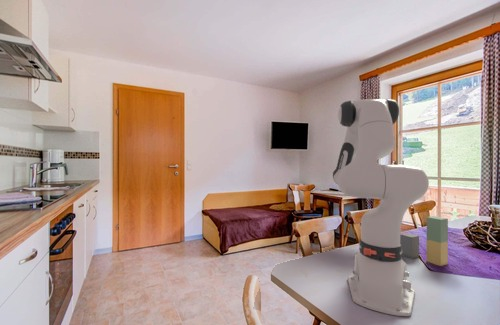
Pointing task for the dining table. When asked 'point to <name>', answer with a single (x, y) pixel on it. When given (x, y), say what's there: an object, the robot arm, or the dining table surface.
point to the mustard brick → (437, 252)
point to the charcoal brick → (409, 245)
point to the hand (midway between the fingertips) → (399, 184)
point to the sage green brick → (437, 229)
